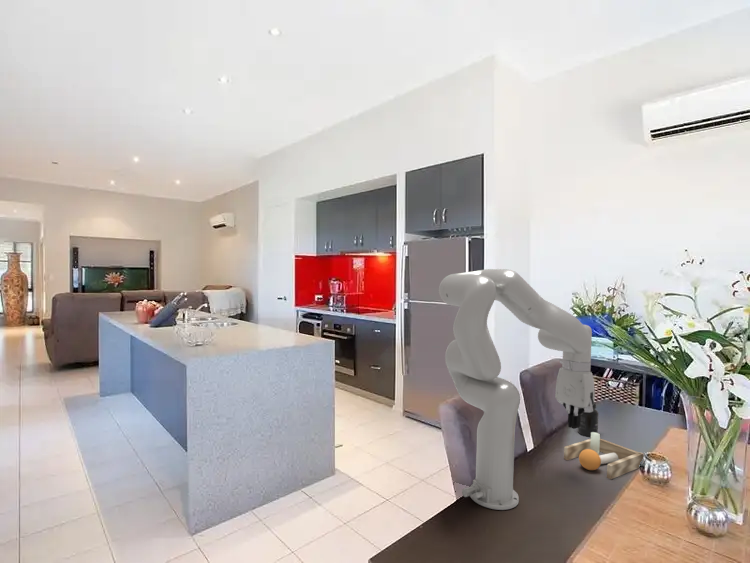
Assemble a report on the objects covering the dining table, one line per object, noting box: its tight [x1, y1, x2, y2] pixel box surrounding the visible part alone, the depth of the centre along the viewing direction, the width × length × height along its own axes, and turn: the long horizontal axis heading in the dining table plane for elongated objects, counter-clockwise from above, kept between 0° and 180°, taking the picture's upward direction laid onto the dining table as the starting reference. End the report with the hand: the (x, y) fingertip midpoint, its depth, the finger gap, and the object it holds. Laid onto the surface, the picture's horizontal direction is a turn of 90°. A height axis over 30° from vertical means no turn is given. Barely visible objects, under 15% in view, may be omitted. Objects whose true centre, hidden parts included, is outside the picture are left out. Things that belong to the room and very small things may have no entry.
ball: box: [578, 449, 602, 471], centre depth 129 cm, size 6×6×6 cm
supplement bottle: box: [577, 401, 600, 438], centre depth 158 cm, size 7×7×12 cm
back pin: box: [590, 432, 601, 455], centre depth 136 cm, size 3×3×8 cm
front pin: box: [599, 453, 619, 466], centre depth 134 cm, size 3×3×8 cm
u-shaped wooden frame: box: [563, 437, 645, 480], centre depth 134 cm, size 18×15×4 cm
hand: (573, 427), depth 125 cm, fingers closed
